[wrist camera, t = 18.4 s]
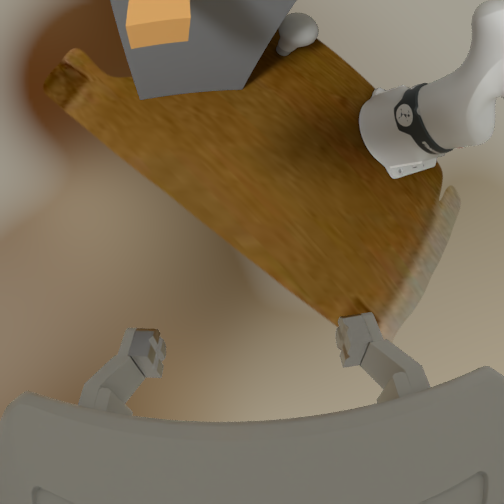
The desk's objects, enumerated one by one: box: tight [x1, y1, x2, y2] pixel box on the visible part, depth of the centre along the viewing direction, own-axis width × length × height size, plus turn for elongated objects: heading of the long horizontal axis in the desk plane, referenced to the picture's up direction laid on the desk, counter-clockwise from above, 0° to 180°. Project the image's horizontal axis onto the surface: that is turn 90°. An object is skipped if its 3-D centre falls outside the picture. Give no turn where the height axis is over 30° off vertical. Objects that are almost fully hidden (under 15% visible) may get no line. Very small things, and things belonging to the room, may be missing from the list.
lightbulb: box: [276, 13, 318, 56], centre depth 34 cm, size 6×6×11 cm
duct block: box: [110, 0, 296, 100], centre depth 22 cm, size 16×12×28 cm
